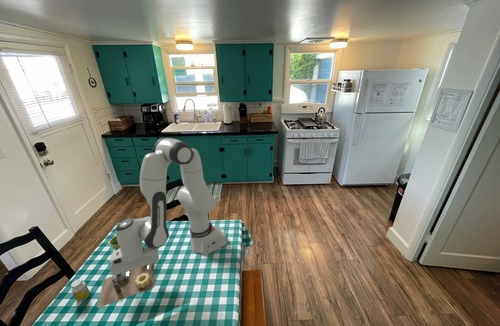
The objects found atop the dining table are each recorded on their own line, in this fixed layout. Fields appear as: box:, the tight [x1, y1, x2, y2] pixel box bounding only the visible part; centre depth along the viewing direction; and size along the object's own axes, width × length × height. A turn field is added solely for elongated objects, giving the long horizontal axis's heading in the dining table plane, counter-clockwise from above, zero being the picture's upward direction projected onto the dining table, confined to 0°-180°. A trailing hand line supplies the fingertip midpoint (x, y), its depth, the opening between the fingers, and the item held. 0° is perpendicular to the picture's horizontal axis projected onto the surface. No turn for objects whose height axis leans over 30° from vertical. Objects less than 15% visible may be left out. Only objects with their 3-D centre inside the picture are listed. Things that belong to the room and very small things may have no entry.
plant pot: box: [108, 235, 120, 251], centre depth 123 cm, size 9×9×9 cm
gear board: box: [97, 263, 155, 309], centre depth 102 cm, size 24×16×6 cm, turn 115°
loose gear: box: [135, 273, 151, 288], centre depth 102 cm, size 6×6×3 cm
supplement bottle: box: [70, 278, 91, 302], centre depth 97 cm, size 5×5×10 cm
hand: (138, 272), depth 100 cm, fingers open, 8 cm apart
